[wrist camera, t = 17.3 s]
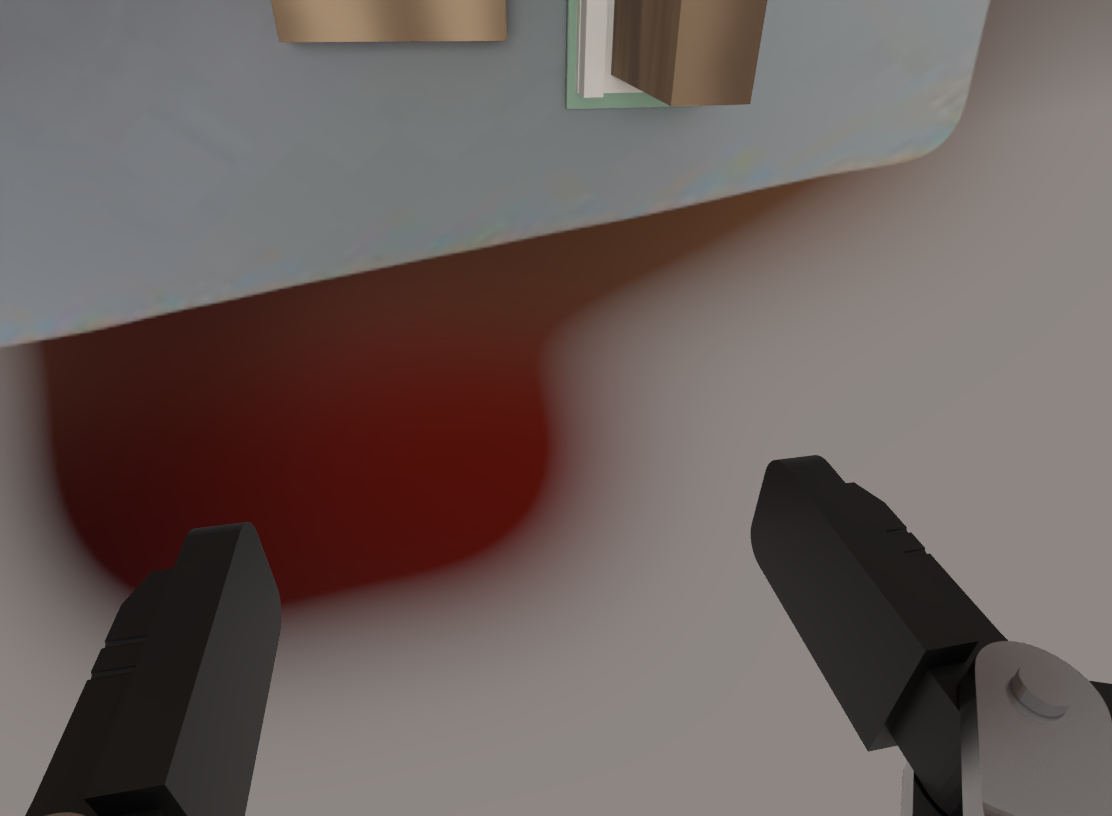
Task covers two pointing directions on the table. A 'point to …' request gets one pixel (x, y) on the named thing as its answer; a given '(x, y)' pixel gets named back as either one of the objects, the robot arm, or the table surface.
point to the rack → (596, 50)
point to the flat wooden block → (390, 20)
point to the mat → (608, 98)
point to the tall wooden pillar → (688, 49)
